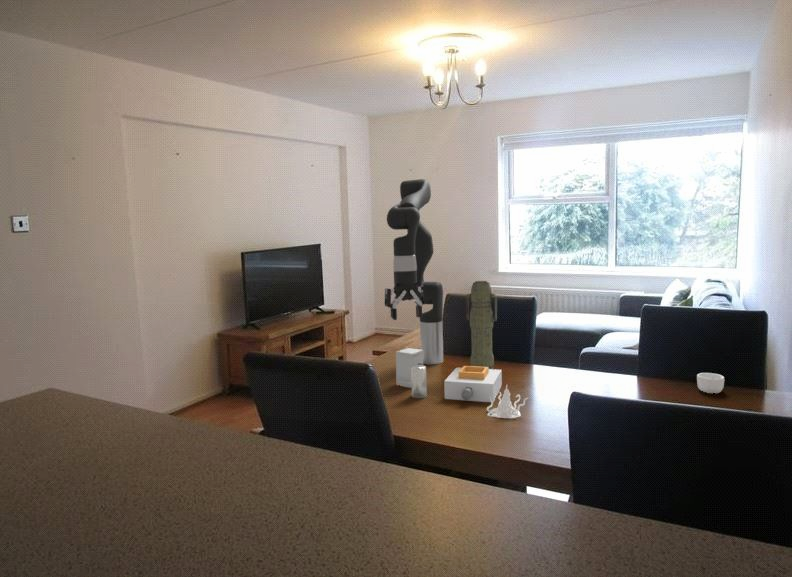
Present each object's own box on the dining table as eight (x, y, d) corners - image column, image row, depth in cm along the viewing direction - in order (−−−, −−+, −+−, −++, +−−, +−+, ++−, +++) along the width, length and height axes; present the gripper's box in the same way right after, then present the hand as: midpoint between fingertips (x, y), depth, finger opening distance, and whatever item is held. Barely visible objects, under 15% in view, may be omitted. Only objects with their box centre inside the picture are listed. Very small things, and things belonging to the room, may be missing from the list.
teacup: (726, 396, 175) (726, 380, 174) (698, 394, 177) (699, 378, 177) (719, 387, 184) (720, 372, 183) (693, 386, 187) (694, 370, 186)
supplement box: (412, 389, 193) (411, 353, 192) (395, 386, 198) (394, 351, 196) (424, 383, 199) (423, 349, 197) (408, 381, 203) (407, 347, 202)
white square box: (456, 383, 198) (456, 361, 197) (501, 386, 193) (501, 364, 192) (441, 402, 177) (441, 378, 176) (491, 406, 172) (491, 381, 171)
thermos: (467, 368, 219) (466, 280, 215) (498, 369, 216) (497, 280, 212) (465, 374, 210) (463, 282, 206) (497, 375, 207) (496, 282, 203)
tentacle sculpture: (486, 409, 170) (485, 379, 169) (525, 409, 169) (525, 379, 168) (487, 419, 161) (487, 388, 160) (529, 419, 160) (529, 388, 159)
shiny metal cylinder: (414, 393, 188) (413, 364, 187) (428, 394, 186) (427, 365, 185) (409, 397, 183) (409, 368, 182) (424, 398, 182) (423, 369, 181)
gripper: (420, 267, 186) (421, 314, 188) (380, 269, 181) (382, 318, 182) (429, 268, 179) (431, 318, 181) (388, 271, 174) (390, 322, 175)
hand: (406, 318), depth 182 cm, fingers open, 8 cm apart
